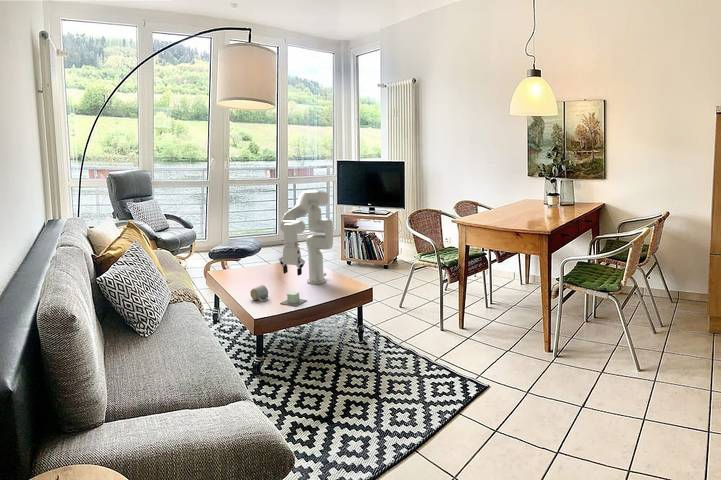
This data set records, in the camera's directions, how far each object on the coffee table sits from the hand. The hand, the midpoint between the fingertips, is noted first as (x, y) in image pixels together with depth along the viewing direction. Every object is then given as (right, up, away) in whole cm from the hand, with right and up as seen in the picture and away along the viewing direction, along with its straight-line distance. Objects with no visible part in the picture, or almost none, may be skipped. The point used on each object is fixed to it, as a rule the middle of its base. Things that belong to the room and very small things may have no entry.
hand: (292, 273), depth 270 cm
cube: (0, -16, +3) cm, 16 cm away
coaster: (0, -17, +3) cm, 17 cm away
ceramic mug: (-20, -16, +10) cm, 27 cm away
